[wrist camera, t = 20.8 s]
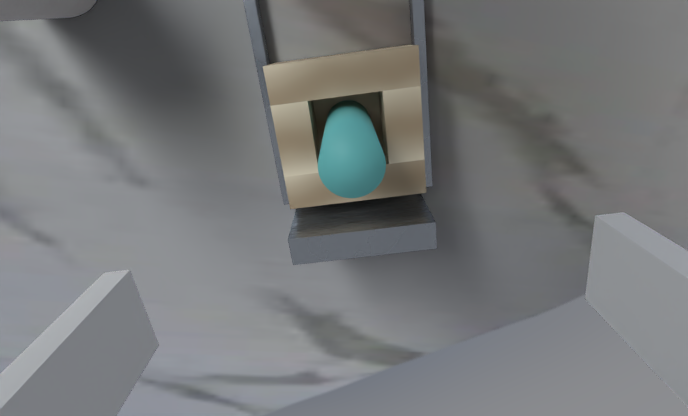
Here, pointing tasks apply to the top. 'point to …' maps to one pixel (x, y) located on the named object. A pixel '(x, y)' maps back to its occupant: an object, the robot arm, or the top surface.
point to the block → (358, 85)
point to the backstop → (359, 216)
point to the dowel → (350, 152)
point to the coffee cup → (43, 9)
